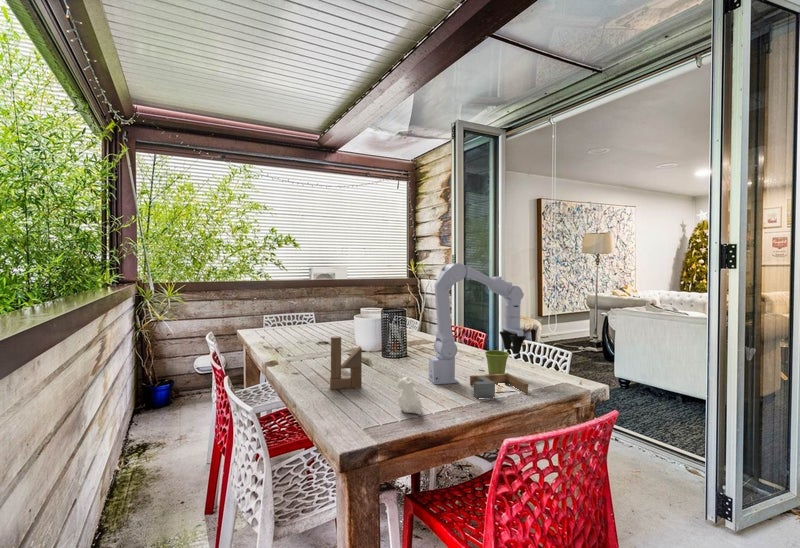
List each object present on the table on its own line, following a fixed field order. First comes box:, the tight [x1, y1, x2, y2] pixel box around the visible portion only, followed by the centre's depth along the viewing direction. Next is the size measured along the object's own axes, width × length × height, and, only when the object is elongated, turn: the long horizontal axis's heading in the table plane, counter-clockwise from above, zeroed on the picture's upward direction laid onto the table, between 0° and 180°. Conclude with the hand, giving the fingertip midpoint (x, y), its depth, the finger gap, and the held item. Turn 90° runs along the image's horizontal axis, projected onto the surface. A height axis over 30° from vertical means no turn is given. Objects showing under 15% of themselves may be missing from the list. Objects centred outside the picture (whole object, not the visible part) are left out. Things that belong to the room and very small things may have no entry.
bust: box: [396, 376, 423, 415], centre depth 121 cm, size 12×8×11 cm
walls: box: [469, 372, 529, 394], centre depth 143 cm, size 15×14×3 cm
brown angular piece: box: [329, 335, 363, 390], centre depth 144 cm, size 4×11×18 cm, turn 103°
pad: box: [496, 384, 504, 393], centre depth 143 cm, size 10×8×1 cm
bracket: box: [473, 376, 496, 400], centre depth 136 cm, size 8×6×5 cm
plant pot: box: [484, 349, 510, 375], centre depth 162 cm, size 9×9×9 cm
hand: (511, 351), depth 158 cm, fingers open, 7 cm apart
